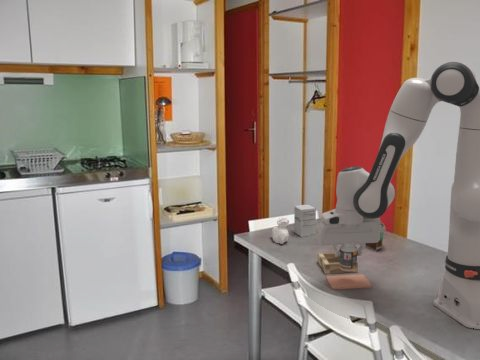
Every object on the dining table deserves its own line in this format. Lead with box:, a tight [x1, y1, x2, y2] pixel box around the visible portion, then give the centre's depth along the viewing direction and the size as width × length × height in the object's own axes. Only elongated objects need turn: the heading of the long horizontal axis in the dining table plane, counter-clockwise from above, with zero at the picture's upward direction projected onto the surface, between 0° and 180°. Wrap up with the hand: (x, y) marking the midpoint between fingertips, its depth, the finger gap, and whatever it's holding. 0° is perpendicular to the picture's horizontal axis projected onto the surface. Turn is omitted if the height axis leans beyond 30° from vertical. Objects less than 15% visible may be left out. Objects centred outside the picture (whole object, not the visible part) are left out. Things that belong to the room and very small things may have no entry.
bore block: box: [317, 251, 359, 275], centre depth 172 cm, size 12×12×4 cm
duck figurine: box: [270, 217, 290, 245], centre depth 201 cm, size 12×8×11 cm
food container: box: [365, 221, 386, 252], centre depth 191 cm, size 12×6×10 cm, turn 22°
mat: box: [325, 273, 373, 290], centre depth 158 cm, size 9×13×1 cm
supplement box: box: [293, 204, 317, 238], centre depth 209 cm, size 7×7×13 cm
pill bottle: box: [339, 242, 358, 271], centre depth 156 cm, size 6×6×10 cm
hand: (348, 255), depth 156 cm, fingers closed on pill bottle, 6 cm apart
